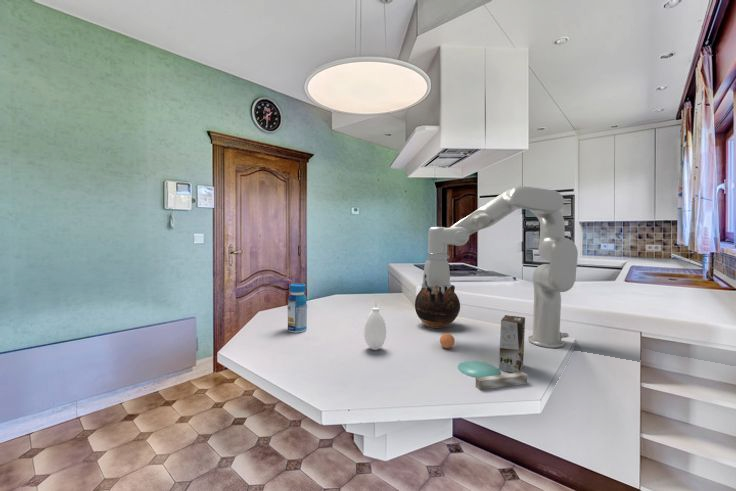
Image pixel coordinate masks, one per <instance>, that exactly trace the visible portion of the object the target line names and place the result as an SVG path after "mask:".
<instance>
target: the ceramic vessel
mask: <svg viewBox="0 0 736 491" xmlns="http://www.w3.org/2000/svg"><path fill="white" fill-rule="evenodd" d="M450 266H451V264H449V268H450ZM422 284H423V282H422ZM422 284H421V285H422ZM427 287H429V286H428V285H427ZM455 289H456V286H455V284H451V287H450V288H448V289H447V290H446V291H445V293H444V294H443V301H442V304H440V303H438V302H437V293H439V286H435V289H434V294H435V304H432V303H430V300H429V299H430V293H429V292H428V291H427V290H426V289H424V288H422V287H421V289H420V290H419V292H418V293H417V295H416V296H415V301H414V308H415V309H414V310H415V313H416V315H417V317H418V318H419V320H420V321H421V322H422V323H423V324H424V325H425V326H426V327H429V328H432V329H442V328H446V327H449V326H450V325H451V324H452V323H454V321H455V320H456V318H458V316H459V313H460V310H461V302H460V298H459V297H458V295H457V293H456V291H455Z"/></svg>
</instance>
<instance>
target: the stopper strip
mask: <svg viewBox="0 0 736 491" xmlns="http://www.w3.org/2000/svg"><path fill="white" fill-rule="evenodd" d="M526 384H528V374H527V373H524V372H523V371H521V372H520V373H512V372H511V373H505V374H500V375H496V376H487V377H479V378H477V377H475V388H477V389H478V390H479V391H480V390H481V391H482V390H489V389H495V388H504V387H511V386H517V385H518V386H519V385H526Z"/></svg>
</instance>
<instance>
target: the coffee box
mask: <svg viewBox="0 0 736 491" xmlns="http://www.w3.org/2000/svg"><path fill="white" fill-rule="evenodd" d="M525 325H526V317H524V316H516V315H509V314H508V315H506V314H505V315H504V317H502V318H501V320H500V335H499V336H500V338H499V361H498V363H499V364H498V369H499V370H500V371H504V372H509V373H511V374H512V373H520V372H522V369H523V368H524V360H525V359H524V355H525V332H526V331H525V330H526V329H525V328H526V326H525Z"/></svg>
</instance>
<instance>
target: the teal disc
mask: <svg viewBox="0 0 736 491" xmlns="http://www.w3.org/2000/svg"><path fill="white" fill-rule="evenodd" d="M457 369H458V370H459V371H460V372H461V373H462V374H465V375H466V376H468V377H473V378H479V377H487V376H496V375H502V374H501V373H502V372H501V371H502V370H500V369H499V367H497V366H495V365H494V364H491V363H488V362H483V361H479V360H466V361H462V362H459V363H458V365H457Z"/></svg>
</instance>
